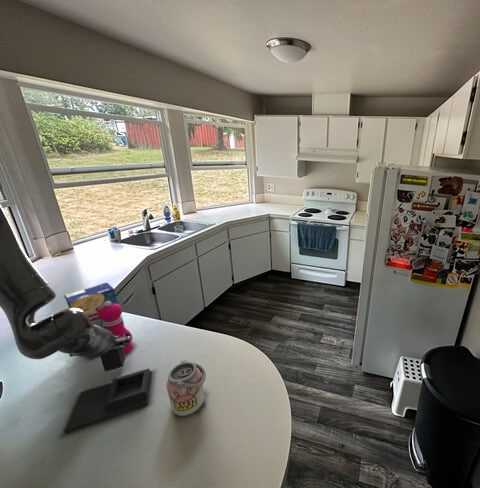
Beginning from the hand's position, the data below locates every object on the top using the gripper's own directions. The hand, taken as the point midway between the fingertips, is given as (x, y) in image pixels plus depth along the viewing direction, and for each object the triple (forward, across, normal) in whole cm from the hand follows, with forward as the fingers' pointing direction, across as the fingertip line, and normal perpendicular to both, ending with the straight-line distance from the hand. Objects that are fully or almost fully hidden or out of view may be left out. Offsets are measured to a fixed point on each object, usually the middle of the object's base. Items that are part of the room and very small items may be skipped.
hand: (113, 347), depth 79 cm
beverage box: (+14, +6, -4) cm, 16 cm away
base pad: (-5, -2, +15) cm, 16 cm away
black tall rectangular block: (+2, 0, +5) cm, 6 cm away
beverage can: (-12, -21, +23) cm, 33 cm away
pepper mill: (+11, 0, 0) cm, 11 cm away
